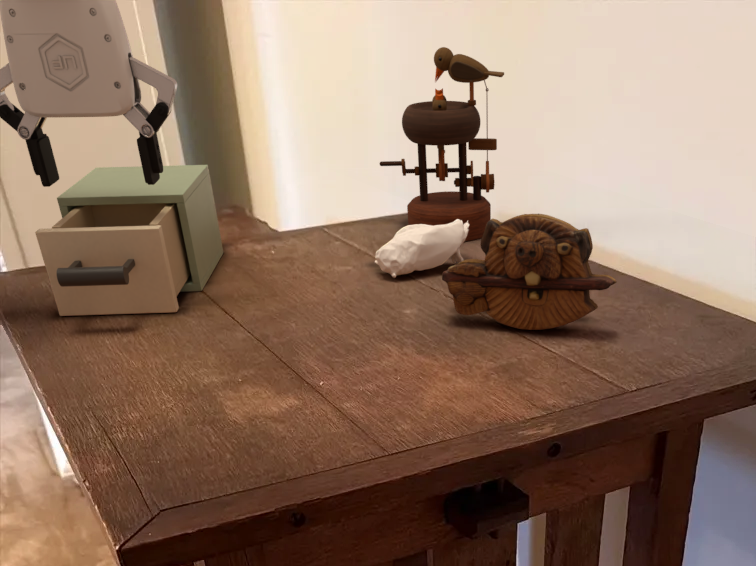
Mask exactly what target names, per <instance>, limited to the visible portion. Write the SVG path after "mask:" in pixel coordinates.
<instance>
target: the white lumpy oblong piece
mask: <svg viewBox="0 0 756 566" xmlns="http://www.w3.org/2000/svg"><path fill="white" fill-rule="evenodd" d="M468 227H469V224H468V221H467V222H466V223H464V225H463V222H462V220H459V219H456V220H455V221H454V222H452V223H449V224H445V225H435V226H432V225H426V224H414V225H408V224H407V225H405V226H403V227H401V228H400V229H399V230H398V231H397V232H395V234H394V236H393V237H392V238H391V239H390V240H389V241H388V242H387V243H385V244H384V245H382V246H380V248H379V249H377V250H376V251H375V257H374V258H375V260H374V264H376V265H377V266H378V267H379V268H380V270H381V271H382V272H384V273H388V274H389V275H390V276H391V277H392V278H393V279H395V278H397V276H401V275H408V274H411V273H413V272H414V271H424V270H430V269H434V268H437V267H439V266H442V265H443V264H445V263H446V262H448V260H449V259H450V258H451V262H452V263H453V264H455V263H456V264H458V263H460V262H462V261H463V260H464V257H463V256H462V254H461V246H462V245H463V244H464V243H465V242H466V241H465V239H466V237H467V234H468V231H469V229H468Z"/></svg>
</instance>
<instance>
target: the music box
mask: <svg viewBox="0 0 756 566" xmlns="http://www.w3.org/2000/svg"><path fill="white" fill-rule="evenodd" d="M433 63H434V66H435V75H434V76H435V77H434V83H437V81H438V80H439V79H440V78H441V76H442V75H443V73H445V72H447V73H448V75H449V77H450V78H451V79H452V81H454V82H458V83H464V84H469V85H468V86H469V99H468V100H467V101H460V100H459V101H458V100H447V98H446V96H445V95H444V88H441V89H437V88H435V89H434V96H433V97H432V100H430V101H429V100H428V101H421V102H419V101H418V102H413V103H411V104H409V105H407V106H406V108H405V110H403V114H402V117H401V127H402V130H403V133H404V135H405V137H406V138H407V139H408V140H409V141H410V142H412V143H414V144H417V161H418V163H417V166H416V165H415V166H414V168H406V161H405V158H401V160H394V161H393V160H389V161H385V160H383V161H379V166H380V167H401V173H402V176H404V177H406V176H407V174H414V176H417V177H418V182H419V183H418V184H419V195H416V196H415V197H413V198H412V199H411V200H410V202H408V204H407V206H406V207H407V209H406V211H407V225H414V224H426V225H432V226H435V225H445V224H449V223H452V222H454V221H455V220H456V219H459V220H462V222H463V225H464V223H466V222H467V221H468V224H469V227H468V229H469V231H468V234H467V237H466V239H465V241H464V242H470V241H475V240H479V239H482V236H483V234H484V231H485V227H486V224H487V222H488V221H490V220H491V219H492V218H491V217H492V216H491V215H492V213H491V209H492V208H491V202H490V201H489V200H488V199H487V198H486V197H485V196H483V195H482V191H483V190H484V191H485V193H486V194H487V193H490V191H491V190H492V191H493V190H495V174H494V173H490V161H489V151H496V150H498V139H497V138H488V137H489V127H488V126H489V124H488V123H489V120H488V119H489V118H488V117H489V115H488V113H489V111H488V109H489V108H488V107H489V106H488V104H489V103H488V96H489V95H488V93H489V91H490V90H489V87H488V86H487V83H486V80H487V79H489V77H495V78H496V77H497V78H503V76H504V75H505V72H504V71H495V70H489V69H488V67H486V66H485V65H484V64H483V63H481V62H480V61H478V60H476V59H475V58H473V57H471V56H468V55H466V54H462V53H456V54H454V53H453V52H452V50H451V49H450V48H448V47H445V46H441V47H439V48H438V49H436V51H435V52H434V55H433ZM480 82H484V86H485V92H486V93H485V95H486V137H485V138H484V137H483V138H482V137H480V138H479V137H478V138H476V137H477V135H478V134H479V132H480V128H481V116H480V112H479V110H478V108H477V107H476V106H477V100H476V99H475V88H474V87H475V85H474V84H475V83H480ZM467 144H468V145H467ZM455 145H456V146H457V147H458V149H457V151H458V152H457V153H458V167H449V163H448V162H445V161H446V160H445V154H446V149H445V146H455ZM427 146H436V149H437V157H438V158H437V159H438V160H437V161H438V162H437V163H435V168H434V167H432V168H431V167H430V168H428V167H427V164H428V163H427ZM467 147H468V148H467ZM467 149H468V150H469V151H486V160H485V173H480V175H474V160H470V164H469V165H468V160H467V158H468V157H467V156H468V155H467V152H468V151H467ZM449 173H450V174H451V173H458V177H455V178H454V180H453V185H454V186H455V188H459V189H458V191H451V190H450V191H435V192H429V190H428V189H429V187H428V174H435V178H436V179H437V178H438V181H439V182H446V178H449ZM468 175H470V177H468ZM469 187H470V188H471V187H472V192H469V191H468V188H469Z"/></svg>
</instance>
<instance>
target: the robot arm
mask: <svg viewBox="0 0 756 566" xmlns="http://www.w3.org/2000/svg"><path fill="white" fill-rule="evenodd" d="M0 20H1V27H2V34H3V39H4V45H5V49H6V55H7V61H8V63H7V64H5V65H4V66H3V67H1V68H0V119H1V120H2V121H4V122H5V123H6V124H7V125H8V126H9V127H11V128H12V129H13V130H14V131H16V132H17V134H18V136H19V137H20V138H21V139H22V140H25V145H26V148H27V151H28V155H29V158H30V162H31V165H32V170H33V172H34V174H35V176H39V179H40V182H41V186H42V187H44V188H46V187H47V188H49V187H51V186H52V185H54V184H55V183H57V182H58V181H59V180H60V174H59V170H58V166H57V163H56V158H55V155H54V151H53V147H52V143H51V140H50V137H49V136H48V135H47V133H44V131H43V127H44V125H45V124H46V123H45V122H46V121H47V119H48V118H105V117H108V118H109V117H119V116H123V117H124V118H125V119H126V120H127V121H128V122H129V123H130V124H131V125H132V126H133V127H134V128H135V129H136V130H137V131H138V135H139V137H137V138H136V145H137V150H138V154H139V159H140V163H141V166H142V169H143V174H144V178H145V182H146V183H148V185H154V184H155V183H156V182H157V181H158V180H159V179H160V174H159V173H162V172H163V166H164V164H163V158H162V154H161V148H160V143H159V138H158V132H159V131H160V129H161V128H162V126H163V124H164V123H165V122H166V120H167V119H168V117H169V115H170V114H171V112H172V107H173V104H174V101H175V98H176V95H177V94H176V93H177V89H178V82H177V80H176V79H175V78H174V77H171V75H170V76H169V75H168V74H166V73H164V72H162V71H160V70H158V69H156V68H155V67H152V66H150V65H149V64H147V63H144V62H143V61H141V60H140V59H137V58H136V57H134V54H133V51H132V48H131V44H130V41H129V37H128V34H127V30H126V27H125V24H124V20H123V17H122V15H121V11H120V9H119V6H118V2H117V0H0ZM140 81H141V82H143V83H145V84H147V85H148V86H151V87H153V88H154V89H156V91H157V98H156V102H155V104H154V107H153V108H152V109H151V111H149V110H148V109H147V108H146V107H145V106H144V105H143V104H142V103H141V102H142V91H141V85H140ZM12 84H13V88H14V91H15V95H16V97H17V101H18V104H19V106H20V108H21V109H22V110H20V109H19V108H18V107H17V106H16V105H14V103H12V102H11V101H10V99H9V97H8V96H7V95H6V91H5V90H6V88H7V87H9V86H11V85H12Z"/></svg>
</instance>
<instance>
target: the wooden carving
mask: <svg viewBox="0 0 756 566" xmlns="http://www.w3.org/2000/svg"><path fill="white" fill-rule="evenodd" d="M593 248H594V245H593V240H592V236H591V233H590V229H589V228H587V227H585V228H581V229H578V228H576V227H575V226H573V224H571V223H569V222H567V221H565V220H563V219H560V218H557V217H555V216H551V215H548V214H543V213H523V214H519V215H516V216H513V217H511V218H509V219H506V220H503V221H500V220H498V219H496V218H491V220H490V221H488V222H487V224H486V227H485V231H484V234H483V236H482V238H480V249H481V251H482V252H483V253H484V255H485V256H484V259H479V258H477V259H476V258H467V259H463V261H462V262H460V263H459V262H458V263H456V264H454V265H450V266H449V267H448V268H447V270H444V271H443V272H442V276H441V280H442V281H444V282H445V283H446V285H447V289H448V293H450V294H451V296H452V298H453V305H454V309H455V312H456V313H457V314H459V315H463V316H471V315H472V316H473V315H476V314H480V313H486V314H487V315H488V316H489V317H490V318H492V319H493V320H495V321H496V322H498V323H499V324H502V325H504V326H507V327H511V328H515V329H520V330H530V331H532V330H533V331H534V330H535V331H538V330H539V331H541V330H549V329H555V328H558V327H562V326H563V327H564V326H565V325H568V324H571V323H573V322H576V321H578V320H580V319H581V318H583V317H586V316H587V315H589V314H591V313H593V312H594V311H596V310H597V309H598V308H599V306H598V304H597V302H595V301H594V300H593V299H592V298H591V295H590V291H605V290H607V289H609V288H610V287H611V286H613V285H615V284H617V283H618V281H617V280H616V279H615V278H614V277H612V276H611V275H609V274H595V273H593V272H592V269H591V266H590V264H589V260H590V257H591V255H592V252H593Z"/></svg>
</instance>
